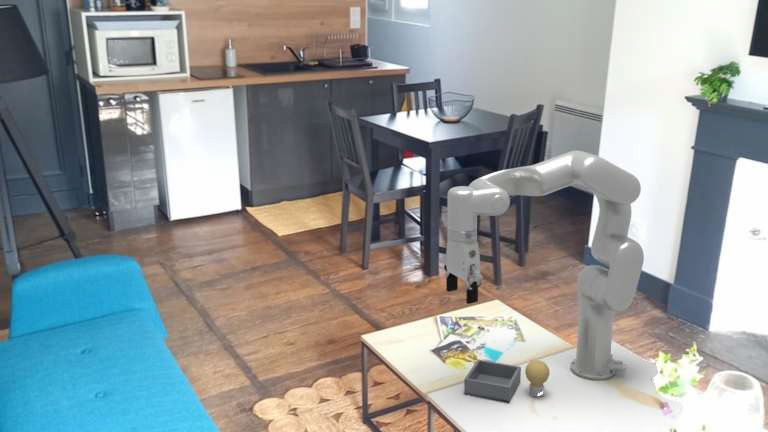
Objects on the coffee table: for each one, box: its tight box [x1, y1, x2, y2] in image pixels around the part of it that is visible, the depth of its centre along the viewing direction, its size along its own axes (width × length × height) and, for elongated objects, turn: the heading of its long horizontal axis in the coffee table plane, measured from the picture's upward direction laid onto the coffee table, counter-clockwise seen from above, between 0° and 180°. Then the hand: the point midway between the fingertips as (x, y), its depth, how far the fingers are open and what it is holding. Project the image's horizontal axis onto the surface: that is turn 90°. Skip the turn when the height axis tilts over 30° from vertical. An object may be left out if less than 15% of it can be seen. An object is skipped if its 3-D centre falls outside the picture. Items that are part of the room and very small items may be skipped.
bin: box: [463, 359, 522, 404], centre depth 201 cm, size 13×13×5 cm
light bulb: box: [524, 359, 550, 398], centre depth 197 cm, size 6×6×10 cm
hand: (461, 296), depth 191 cm, fingers open, 9 cm apart
